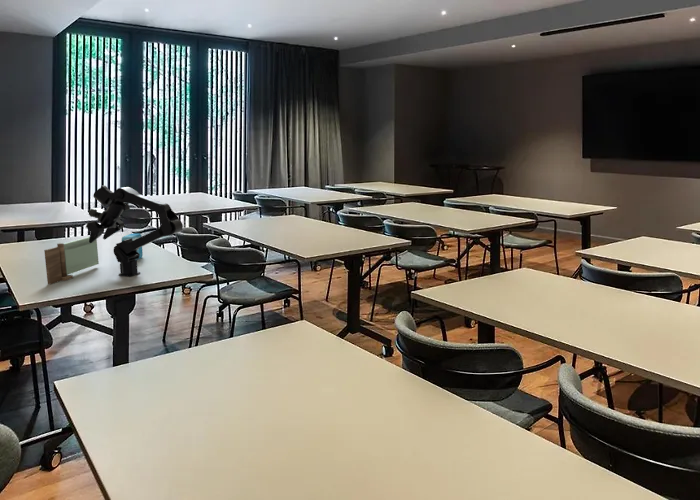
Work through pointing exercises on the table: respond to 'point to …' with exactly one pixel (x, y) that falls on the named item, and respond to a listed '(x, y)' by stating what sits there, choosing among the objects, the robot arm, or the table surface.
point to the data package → (134, 237)
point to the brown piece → (56, 264)
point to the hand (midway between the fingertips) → (97, 240)
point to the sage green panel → (80, 255)
